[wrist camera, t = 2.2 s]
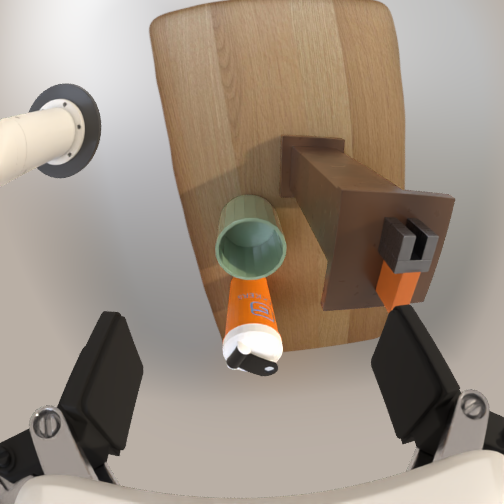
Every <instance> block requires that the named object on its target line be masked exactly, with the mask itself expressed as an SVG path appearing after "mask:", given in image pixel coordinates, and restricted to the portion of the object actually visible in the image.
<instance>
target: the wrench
mask: <svg viewBox="0 0 504 504" xmlns="http://www.w3.org/2000/svg"><path fill="white" fill-rule="evenodd" d="M438 238H439V236H438V235H437V234H436V233H434V232H433V231H432V230H431V229H430V228H429V227H427V226H426V225H425V224H424V223H423V222H422V221H420V220H419V219H418V218H407V223H406V226H405V225H404V224H403V223H402V222H400V221H399V220H398V219H397V218H395V217H385V219H384V224H383V229H382V234H381V238H380V243H379V248H378V253H379V254H380V256H381V257H382V258H383V259H384V260H383V264H382V268H381V272H380V276H379V279H378V283H377V287H376V292H377V294H378V296H379V297H380V299H381V301H382V302H383V304H384V306H385V308H386V309H387V311H388V313H389V312H390V311H391V310H393V308H394V307H395V306H399V305H408V304H410V301H411V299H412V296H413V293H414V290H415V287H416V285H417V282H418V279H419V276H420V273H421V272H428V271H429V268H430V265H431V262H432V258H433V255H434V252H435V249H436V245H437V242H438Z"/></svg>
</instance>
